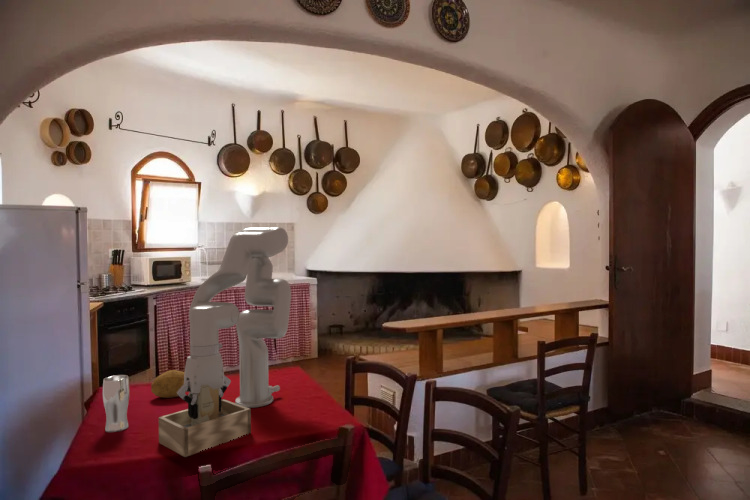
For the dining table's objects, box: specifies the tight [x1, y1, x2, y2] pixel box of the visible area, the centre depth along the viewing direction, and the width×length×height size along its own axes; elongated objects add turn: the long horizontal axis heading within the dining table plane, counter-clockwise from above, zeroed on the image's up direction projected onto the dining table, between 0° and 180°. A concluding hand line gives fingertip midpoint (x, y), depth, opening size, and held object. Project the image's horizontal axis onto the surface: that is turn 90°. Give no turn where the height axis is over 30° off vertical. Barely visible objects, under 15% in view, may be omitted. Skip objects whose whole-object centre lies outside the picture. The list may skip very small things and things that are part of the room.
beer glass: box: [102, 374, 130, 433], centre depth 144 cm, size 7×7×15 cm
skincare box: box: [192, 384, 219, 426], centre depth 136 cm, size 6×4×12 cm
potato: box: [150, 369, 185, 399], centre depth 173 cm, size 10×13×9 cm
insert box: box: [158, 398, 252, 458], centre depth 136 cm, size 20×14×7 cm
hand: (205, 413), depth 136 cm, fingers closed on skincare box, 6 cm apart
